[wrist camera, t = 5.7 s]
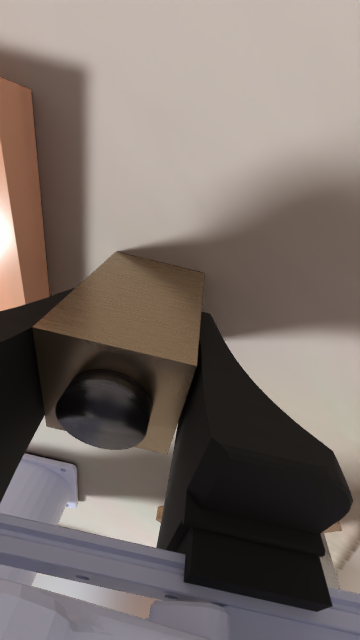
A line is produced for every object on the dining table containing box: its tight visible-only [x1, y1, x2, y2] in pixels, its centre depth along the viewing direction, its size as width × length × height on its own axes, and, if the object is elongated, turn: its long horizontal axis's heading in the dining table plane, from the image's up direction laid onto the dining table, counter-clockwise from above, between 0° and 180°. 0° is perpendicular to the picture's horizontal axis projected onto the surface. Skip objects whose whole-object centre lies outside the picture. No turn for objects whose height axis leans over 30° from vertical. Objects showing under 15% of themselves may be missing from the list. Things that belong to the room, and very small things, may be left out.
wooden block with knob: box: [32, 252, 204, 454], centre depth 9 cm, size 4×4×7 cm
